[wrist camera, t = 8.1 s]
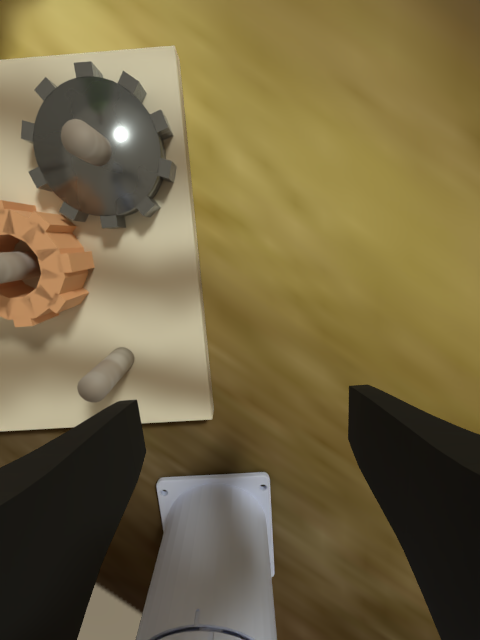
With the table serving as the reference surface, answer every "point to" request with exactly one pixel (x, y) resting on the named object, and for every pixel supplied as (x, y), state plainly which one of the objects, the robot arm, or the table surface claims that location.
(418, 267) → the table surface
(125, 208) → the gear
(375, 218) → the table surface
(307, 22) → the table surface
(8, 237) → the idler gear
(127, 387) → the gear board
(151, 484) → the table surface
